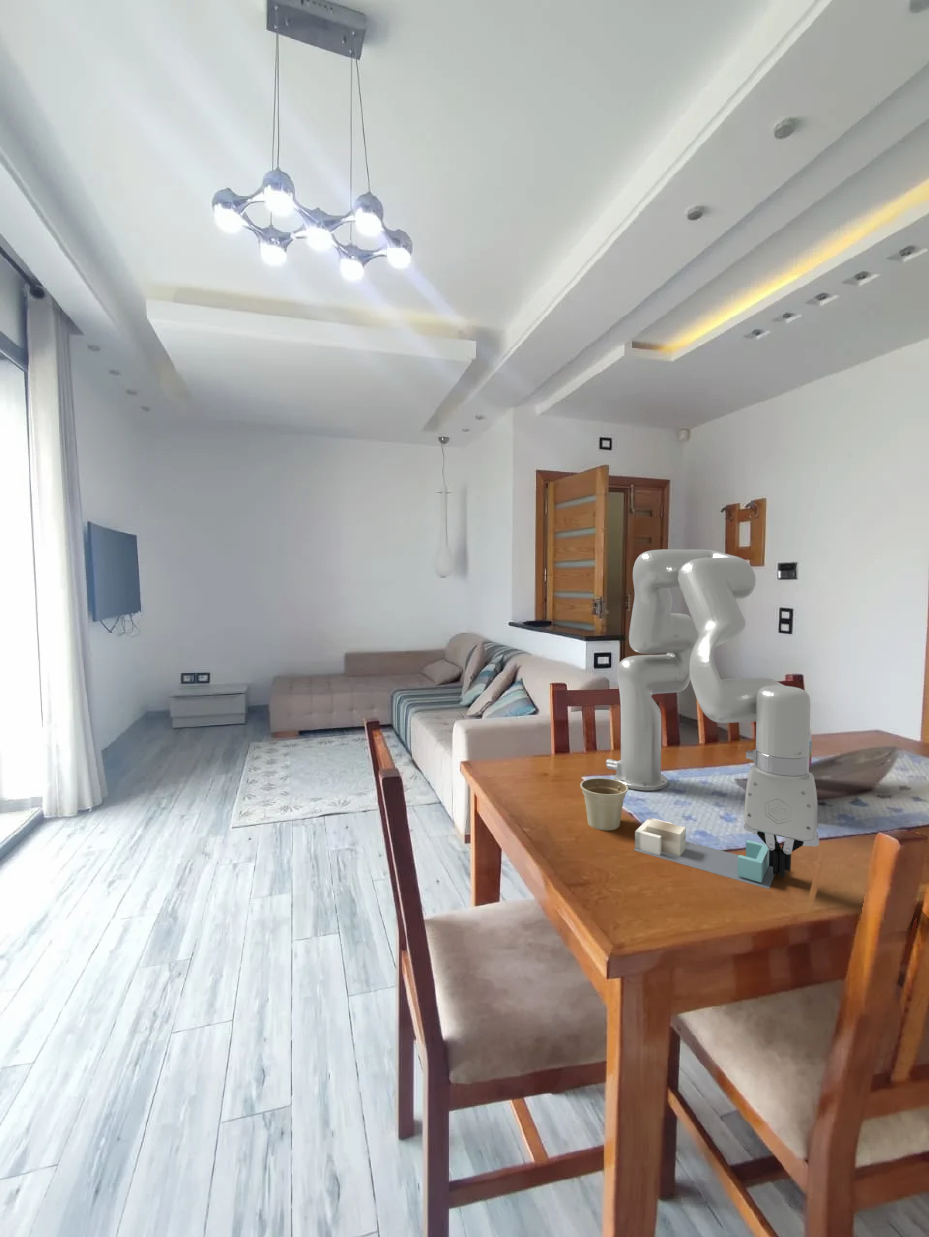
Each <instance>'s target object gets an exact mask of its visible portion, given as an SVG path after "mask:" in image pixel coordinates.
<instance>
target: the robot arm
mask: <svg viewBox="0 0 929 1237" xmlns="http://www.w3.org/2000/svg"><path fill="white" fill-rule="evenodd" d="M632 582H633V588H634V596H633V597H634V599H633V605H632V611H631V619H630V623H629V624H630V626H629V631H628V641H629V643H628V644H629V646H630V648H631V649H632V650H633V651H634V652H636V653H639V655H631V656H627V657H625V658H623V659H622V660H621V661H620V662H619V663H618V665H617V667H616V679H617V685H618V690H619V701H620V759H618V760H615V759H611V758H607V759H606V761H605V765H606V768H607V769H608V770H614V771H615V772H616V773H615V774H614V780H617V781H620V782H622V783H624V784H626V785H627V787H628V789H631V790H635V791H647V792H648V791H649V792H651V791H659V790H661V789H665V788H666V787H667V786H668V784H669V782H668V778H667V776H665V775H663V774H662V713H661V710H660V706H659V705H658V704H657V702H656V701H655V700H654V699H653V697H652V696H653V695H657V694H673V693H679V692H682V691H684V690H685V689H687V687H688V686H689V684H690V683H691V686H692V689H693V691H694V692H693V693H694V695H695V698H696V701H697V703H698V705H699V707H700V709H701V711H702V713H703V714H704V715H705V717H707V718H708V719H709V720H711V721H712V722H714V723H718V724H733V723H735V724H736V723H746V722H747V723H748V722H749V723H750V722H754V723H755V722H756V723H755V749H754V750H746V752H745V759H747V760H748V759H749V760H751V761H753V763H754V764H753V765H752V766H750V767H749V771H748V775H747V780H746V788H745V795H744V796H745V797H744V814H743V818H744V824H743V829H744V830H746V831H747V832H749V833H751V834H753V835H755V836H756V835H757V836H758V838H760V840H761V841H762V842H763V844H766V845H767V848H768V849H769V866H771V867H773V875H774V876H780V877H781V878H785V875H786V872H787V871H788V872H791V869H792V853H793V852H794V851H796V850H797V849H799V848H801V847H819V845H820V838H819V834H818V826H819V808H818V807H819V806H818V795H817V788H816V786H817V785H816V782H815V776H814V774H813V773H812V772H811V773H810V772H809V742H810V732H811V697H810V695H809V693H808V691H806V690H804V689H802V688H800V687H795V686H790V685H784V684H783V683H781V682H779V681H777V680H775V679H772V678H770V677H749V678H748V677H745V678H743V677H740V678H724V679H721V676H720V674H719V671H718V669H717V666H716V664H715V656H714V654H715V648H717V647H718V646H721V645H723V644H726V643H727V642H729V641H732V640H733V639H735V638H736V637H737V636H739V635H740V634H741V633H742V632H743V631H744V630H745V628H746V619H745V617H744V614H743V613H742V610H741V608H740V606H739V604H738V601H737V600H743V599H745V598H747V597H750V595H751V594H752V593H753V592H754V590H755V587H756V574H755V571H754V569H753V567H752V566H751V564H750V563H749V562H748V561H747V560H745V559H744V558H742V557H739V556H736V555H732V554H728V553H726V552H725V553H724V552H721V551H718V550H713V549H705V548H704V549H702V548H698V549H695V548H694V549H692V548H690V549H683V548H678V549H677V548H675V549H673V548H669V549H666V548H665V549H663V548H662V549H651V550H647V551H644V552H642V553H641V554H639V555H638V557H637V558H636V560H635V561H634V565H633V569H632ZM670 589H680V591H681V593H682V596H683V598H684V601H685V604H686V605H687V609H688V611H689V614H685V613H681V612H680V613H678V612H676V613H673V612H671V611H672V609H673V608H672V607H673V595H672V592H671V591H670ZM641 654H642V655H641ZM778 837H782V838H785V839H784V843H783V844H782V846H781V844H780V842H778Z"/></svg>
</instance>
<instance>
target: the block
mask: <svg viewBox="0 0 929 1237" xmlns="http://www.w3.org/2000/svg"><path fill="white" fill-rule="evenodd" d="M654 819H655V818H654ZM654 819H653V820H652V821H651V822H650V823H649V824H648V825H647V832H648V833H652V834H656V835H660V836H662V845H661V851H663V852H666V853H670V854H674V855H677V856H681V854H682V853H683V852H684V850H685V849H686V840H687V837H686V836H687V835H686V834H687V828H686V827H685V826H681V825H677V824H674V823H673V824H670V823H671V822H670V823H666V822H667V821H666V822H662V821H663V820H662V821H658V820H659V819H658V820H654Z"/></svg>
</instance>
